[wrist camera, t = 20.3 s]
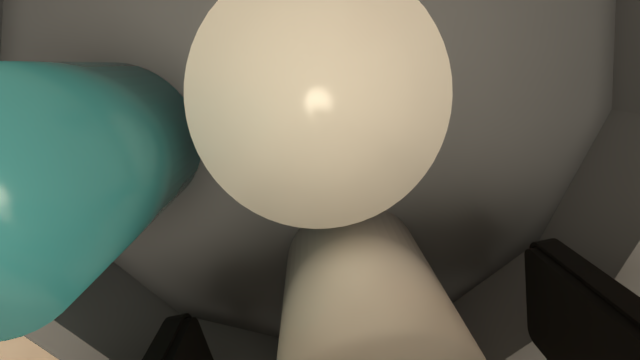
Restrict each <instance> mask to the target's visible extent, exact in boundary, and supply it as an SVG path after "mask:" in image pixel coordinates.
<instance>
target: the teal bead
mask: <svg viewBox="0 0 640 360" xmlns="http://www.w3.org/2000/svg"><path fill="white" fill-rule="evenodd" d="M199 163H200V156H199V155H198V153H197V150H196V148H195V146H194V143H193V141H192V138H191V135H190V132H189V128H188V124H187V120H186V114H185V107H184V98H183V96H182V95H181V94H180V93H179V92H178V91H177V90H176V89H175V88H174V87H173V86H172V85H171V84H170V83H169V82H167V81H166V80H165V79H163V78H162V77H160V76H159V75H157V74H155V73H153V72H151V71H149V70H147V69H144V68H142V67H139V66H136V65H132V64H128V63H119V62H46V61H0V341H6V340H10V339H14V338H17V337H21V336H24V335H27V334H29V333H31V332H34V331H36V330H38V329H40V328H42V327H43V326H45V325H47V324H49V323H50V322H52V321H53V320H54V319H55V318H57V317H58V316H59V315H60V314H62V313H63V312H64V311H65V310H66V309H67V308H68V307H69V306H70V305H71V304H72V303H73V302H74V301H75V300H76V299H77V298H78V297H79V296H80V295H81V294H82V293H83V292H84V291H85V290H86V289H87V288H88V287H89V286H90V285H91V284H92V283H93V282H94V281H95V280H96V279H97V278H98V277H99V276H100V275H101V273H102V272H103V271H104V270H105V269H106V268H107V267H108V266H109V265H110V264H111V263H112V262H113V261H114V260H115V259H116V258H117V257H118V256H119V255H120V254H121V253H122V252H123V251H124V250H125V249H126V248H127V247H128V246H129V245H130V244H131V243H132V242H133V241H134V240H135V239H136V238H137V237H138V236H139V235H140V234H141V233H142V232H143V231H144V230H145V229H146V228H147V227H148V226H149V225H150V224H151V223H152V222H153V221H154V220H155V219H156V218H157V217H158V216H159V215H160V214H161V213H162V212H163V211H164V210H165V209H166V208H167V207H168V206H169V205H170V204H171V203H172V202H173V201H174V200H175V199H176V198H177V197H178V196H179V195H180V194H181V193H182V192H183V191H184V190H185V189H186V187H187V186H188V185H189V184H190V182H191V181H192V179H193V178H194V176H195V174H196V172H197V169H198V166H199Z"/></svg>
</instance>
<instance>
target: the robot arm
mask: <svg viewBox="0 0 640 360" xmlns="http://www.w3.org/2000/svg"><path fill="white" fill-rule="evenodd" d="M524 258H525V281H526V305H527V328H528V333H529V335H530V338H531V340H532V341H533V343H534V344H535V345H536V347H537V348H538V349H539V350H540V352H541V353H542V354H543V355H544V356H545V358H546V359H547V360H640V297H639V296H638V295H636V294H635V293H633V292H632V291H630V290H629V289H628V288H626V287H625V286H623V285H622V284H620V283H619V282H618V281H616V280H615V279H613V278H612V277H611V276H609V275H608V274H606V273H605V272H603V271H602V270H601V269H599V268H598V267H596V266H595V265H593V264H592V263H591V262H589V261H588V260H586V259H585V258H583V257H582V256H581V255H579V254H578V253H576V252H575V251H574V250H572V249H571V248H569V247H568V246H566V245H565V244H564V243H562V242H561V241H559V240H558V239H556V238H551V239H546V240H541V241H536V242H532V243H531V244H530V246H529V249H526V250H525V253H524ZM142 360H214V359H213V357H212V354H211V352H210V349H209V347H208V344H207V342H206V339H205V336H204V334H203V331H202V329H201V326H200V324H199V321H198V319H197V318H196V317H191V315H190V314H189V313H184V314H179V315H175V316H170V317H167V318H166V319H165V320H164V321H163V323H162V325H161V327H160V328H159V330H158V332H157V334H156V336H155V337H154V339H153V341H152V343H151V344H150V346H149V348H148V350H147V351H146V353H145V355H144V357H143V358H142Z"/></svg>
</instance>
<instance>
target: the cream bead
mask: <svg viewBox="0 0 640 360" xmlns="http://www.w3.org/2000/svg"><path fill="white" fill-rule="evenodd" d="M277 360H486V358H485V356H484V355H483V353H482V351H481V350H480V348H479V346H478V345H477V343H476V341H475V340H474V338H473V336H472V335H471V333H470V331H469V330H468V328H467V326H466V325H465V323H464V321H463V320H462V318H461V316H460V315H459V313H458V311H457V310H456V308H455V306H454V305H453V303H452V302H451V300H450V298H449V297H448V295H447V293H446V292H445V290H444V288H443V287H442V285H441V283H440V282H439V280H438V278H437V277H436V275H435V273H434V272H433V270H432V268H431V267H430V265H429V263H428V262H427V260H426V258H425V257H424V255H423V253H422V252H421V250H420V248H419V247H418V245H417V243H416V242H415V240H414V238H413V237H412V235H411V233H410V232H409V230H408V228H407V227H406V226H405V225H404V223H403V222H402V221H401V220H399V219H398V218H397V217H396V216H395V215H393V214H392V213H390V212H388V211H387V210H385V211H383V212H381V213H380V214H378V215H376V216H374V217H371V218H369V219H366V220H364V221H362V222H359V223H355V224H351V225H348V226H343V227H336V228H329V229H309V228H300V229H299V230H298V232H297V233H296V235H295V237H294V238H293V240H292V243H291V245H290V248H289V253H288V260H287V269H286V278H285V287H284V296H283V305H282V315H281V324H280V333H279V342H278V351H277Z"/></svg>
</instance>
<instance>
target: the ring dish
mask: <svg viewBox="0 0 640 360" xmlns="http://www.w3.org/2000/svg"><path fill="white" fill-rule="evenodd" d="M0 61H46V62H119V63H128V64H132V65H136V66H139V67H142V68H144V69H147V70H149V71H151V72H153V73H155V74H157V75H159V76H160V77H162V78H163V79H165V80H166V81H167V82H169V83H170V84H171V85H172V86H173V87H174V88H175V89H176V90H177V91H178V92H179V93H180V94H181V95H182V96H183V98H184V107H185V114H186V120H187V124H188V128H189V132H190V135H191V138H192V141H193V143H194V146H195V148H196V150H197V153H198V155H199V156H200V163H199V166H198V169H197V172H196V174H195V176H194V178H193V179H192V181H191V182H190V184H189V185H188V186H187V187H186V189H185V190H184V191H183V192H182V193H181V194H180V195H179V196H178V197H177V198H176V199H175V200H174V201H173V202H172V203H171V204H170V205H169V206H168V207H167V208H166V209H165V210H164V211H163V212H162V213H161V214H160V215H159V216H158V217H157V218H156V219H155V220H154V221H153V222H152V223H151V224H150V225H149V226H148V227H147V228H146V229H145V230H144V231H143V232H142V233H141V234H140V235H139V236H138V237H137V238H136V239H135V240H134V241H133V242H132V243H131V244H130V245H129V246H128V247H127V248H126V249H125V250H124V251H123V252H122V253H121V254H120V255H119V256H118V257H117V258H116V259H115V260H114V261H113V262H112V263H111V264H110V265H109V266H108V267H107V268H106V269H105V270H104V271H103V272H102V273H101V275H100V276H99V277H98V278H97V279H96V280H95V281H94V282H93V283H92V284H91V285H90V286H89V287H88V288H87V289H86V290H85V291H84V292H83V293H82V294H81V295H80V296H79V297H78V298H77V299H76V300H75V301H74V302H73V303H72V304H71V305H70V306H69V307H68V308H67V309H66V310H65V311H64V312H63V313H62V314H60V315H59V316H58V317H57V318H55V319H54V320H53V321H52V322H50V323H49V324H47V325H45V326H43V327H42V328H40V329H38V330H36V331H34V332H31V333H29V334H27V335H24V336H25V337H26V338H28V339H29V340H31V341H32V342H34V343H35V344H37V345H38V346H40V347H41V348H43V349H44V350H46V351H47V352H49V353H50V354H51V355H53V356H54V357H56V358H57V359H59V360H142V358H143V357H144V355H145V353H146V351H147V350H148V348H149V346H150V344H151V343H152V341H153V339H154V337H155V336H156V334H157V332H158V330H159V328H160V327H161V325H162V323H163V321H164V320H165V319H166V318H167V317H170V316H175V315H179V314H184V313H189V314H190V315H191V317H196V318H197V319H198V321H199V324H200V326H201V329H202V331H203V334H204V336H205V339H206V342H207V344H208V347H209V349H210V352H211V354H212V357H213V359H214V360H277V351H278V342H279V333H280V324H281V315H282V305H283V296H284V287H285V278H286V269H287V260H288V253H289V248H290V245H291V243H292V240H293V238H294V237H295V235H296V233H297V232H298V230H299V229H300V228H309V229H329V228H336V227H343V226H348V225H351V224H355V223H359V222H362V221H364V220H366V219H369V218H371V217H374V216H376V215H378V214H380V213H381V212H383V211H385V210H387V211H388V212H390V213H392V214H393V215H395V216H396V217H397V218H398V219H399V220H401V221H402V222H403V223H404V225H405V226H406V227H407V228H408V230H409V232H410V233H411V235H412V237H413V238H414V240H415V242H416V243H417V245H418V247H419V248H420V250H421V252H422V253H423V255H424V257H425V258H426V260H427V262H428V263H429V265H430V267H431V268H432V270H433V272H434V273H435V275H436V277H437V278H438V280H439V282H440V283H441V285H442V287H443V288H444V290H445V292H446V293H447V295H448V297H449V298H450V300H451V302H452V303H453V305H454V306H455V308H456V310H457V311H458V313H459V315H460V316H461V318H462V320H463V321H464V323H465V325H466V326H467V328H468V330H469V331H470V333H471V335H472V336H473V338H474V340H475V341H476V343H477V345H478V346H479V348H480V350H481V351H482V353H483V355H484V356H485V358H486V360H547V359H546V358H545V356H544V355H543V354H542V353H541V352H540V350H539V349H538V348H537V347H536V345H535V344H534V343H533V341H532V340H531V338H530V335H529V333H528V328H527V305H526V281H525V258H524V253H525V250H526V249H529V246H530V244H531V243H532V242H536V241H541V240H546V239H551V238H556V239H558V240H559V241H561V242H562V243H564V244H565V245H566V246H568V247H569V248H571V249H572V250H574V251H575V252H576V253H578V254H579V255H581V256H582V257H583V258H585V259H586V260H588V261H589V262H591V263H592V264H593V265H595V266H596V267H598V268H599V269H601V270H602V271H603V272H605V273H606V274H608V275H609V276H611V277H612V278H613V279H615V280H616V281H618V282H619V283H620V284H622V285H623V286H625V287H626V288H628V289H629V290H630V291H632V292H633V293H635V294H636V295H638V296H639V297H640V0H0Z"/></svg>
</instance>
